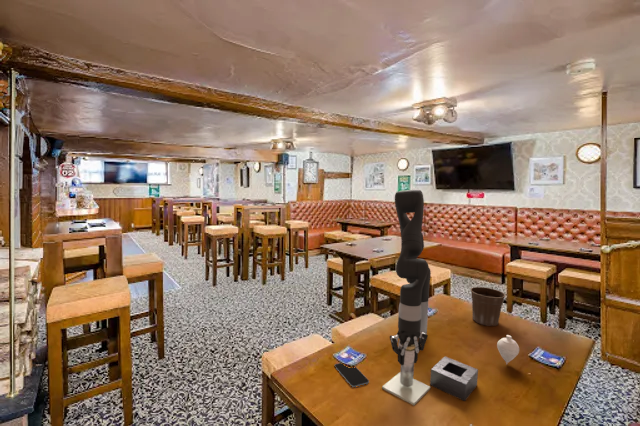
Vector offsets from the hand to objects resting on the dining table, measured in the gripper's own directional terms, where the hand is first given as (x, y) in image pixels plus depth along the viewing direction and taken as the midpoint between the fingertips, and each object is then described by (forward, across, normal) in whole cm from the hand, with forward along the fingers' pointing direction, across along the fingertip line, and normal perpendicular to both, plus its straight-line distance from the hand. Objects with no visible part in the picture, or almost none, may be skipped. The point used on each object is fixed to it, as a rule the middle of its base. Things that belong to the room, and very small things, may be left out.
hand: (407, 362), depth 110 cm
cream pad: (+10, 0, 0) cm, 10 cm away
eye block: (+10, +18, -3) cm, 20 cm away
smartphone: (+10, -16, +13) cm, 23 cm away
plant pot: (+10, +71, +39) cm, 82 cm away
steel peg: (+7, 0, 0) cm, 7 cm away
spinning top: (+10, +48, +3) cm, 49 cm away
